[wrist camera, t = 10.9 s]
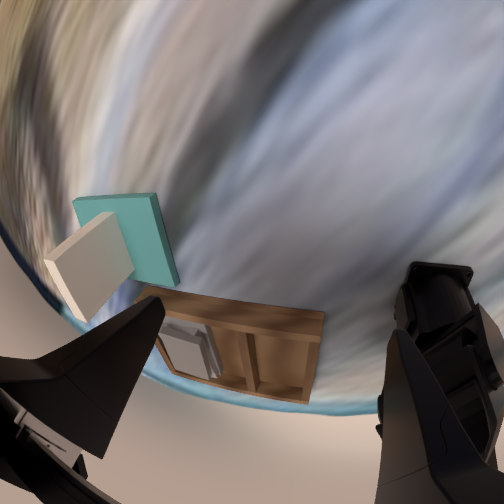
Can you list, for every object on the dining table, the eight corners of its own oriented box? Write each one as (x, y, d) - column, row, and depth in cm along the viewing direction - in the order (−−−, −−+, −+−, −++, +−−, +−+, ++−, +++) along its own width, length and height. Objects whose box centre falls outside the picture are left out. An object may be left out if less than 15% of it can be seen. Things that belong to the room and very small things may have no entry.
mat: (155, 192, 22) (149, 197, 22) (179, 281, 28) (175, 287, 27) (77, 197, 26) (72, 201, 25) (104, 267, 31) (99, 272, 30)
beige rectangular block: (115, 211, 24) (53, 261, 17) (134, 269, 28) (87, 323, 21) (102, 211, 24) (43, 258, 18) (122, 267, 28) (75, 317, 22)
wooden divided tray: (324, 311, 25) (321, 336, 22) (311, 385, 33) (308, 404, 30) (147, 285, 30) (133, 302, 28) (180, 358, 38) (171, 373, 36)
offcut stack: (207, 315, 28) (196, 336, 26) (223, 369, 34) (216, 387, 32) (158, 305, 30) (145, 323, 28) (182, 358, 36) (173, 374, 34)
